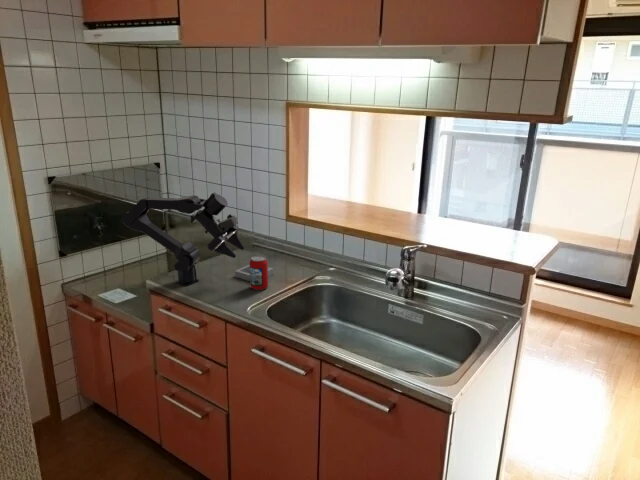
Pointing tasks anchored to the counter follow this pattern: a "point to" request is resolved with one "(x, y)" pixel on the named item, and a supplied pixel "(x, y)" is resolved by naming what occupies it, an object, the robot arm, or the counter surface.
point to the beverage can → (258, 272)
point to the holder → (244, 272)
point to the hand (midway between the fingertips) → (239, 253)
